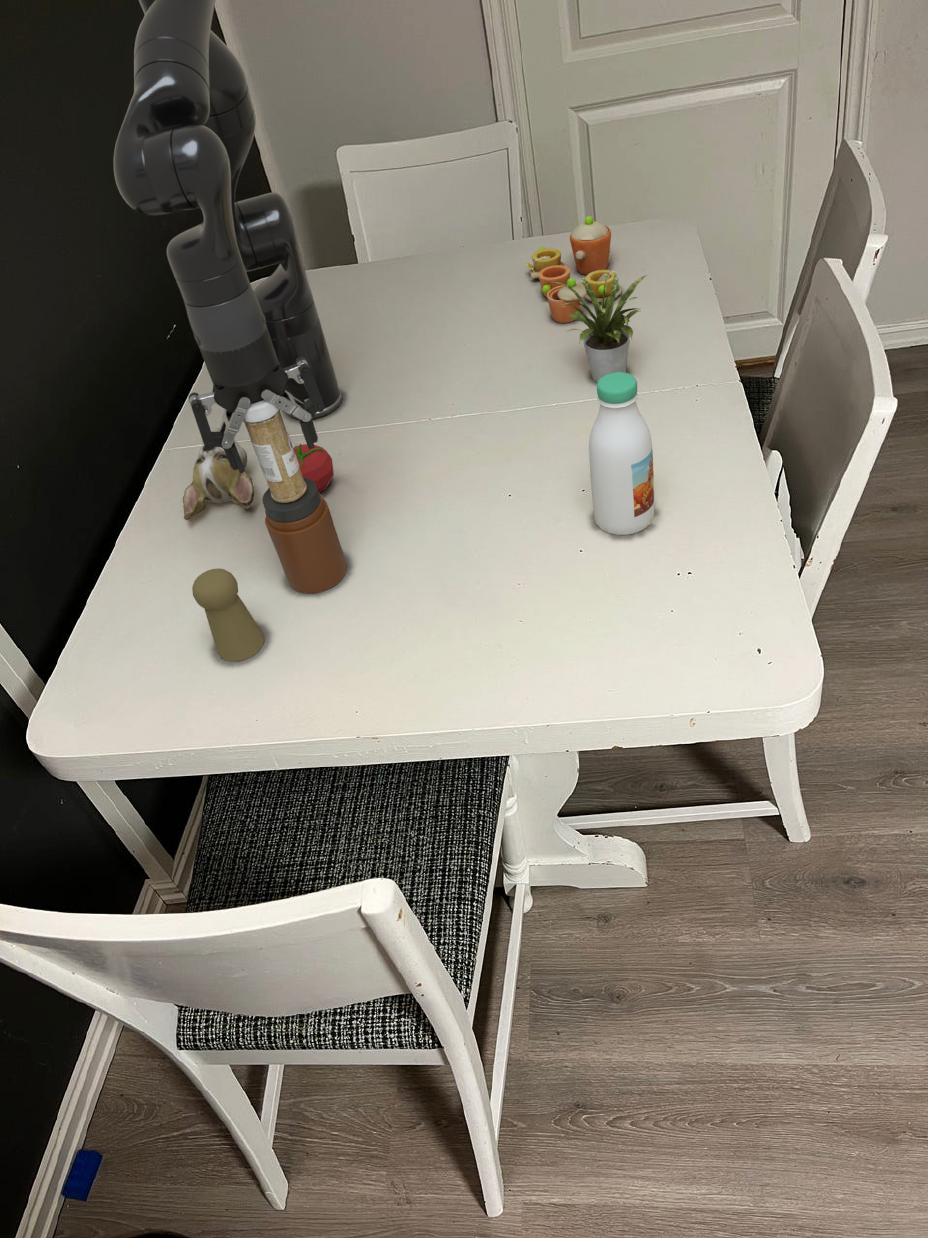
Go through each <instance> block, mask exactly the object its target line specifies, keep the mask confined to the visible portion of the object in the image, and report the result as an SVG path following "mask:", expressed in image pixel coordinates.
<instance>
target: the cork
mask: <svg viewBox="0 0 928 1238" xmlns="http://www.w3.org/2000/svg"><path fill="white" fill-rule="evenodd" d="M238 584H239V583H238V581H237V579H236V578H235V576H234V575H233V573H232V572H230V571H228V570H226V569H225V568H221V567H219V568H211V569H208V570H206V571H204V572H202V573H200V574H199V575H198V576H197V577H196V578H195V579H194V581H193V584H192V588H191V589H192V590H191V592H192V596H193V599H194V600H195V602H196V604H198V606H199V607H201V608H202V609H204V612H205V616H206V619H207V623H208V625H209V629H210V633H211V636H212V640H213V642H214V646H215V651H216V653H217V655H218V657H219V658H220V659H221V660H223V661H226V662H230V663H234V662H236V663H237V662H242V661H246V660H247V659H250V658H251V657H253V656H255V655H256V654H257V653H258V652H259V651H260V650H261V649H262V647H263V646H264V643H265V639H266V638H265V634H264V632H263V630H262V629H261V628H260V626H259V624H258V623H257V621H256V620H255V618H254V617H253V616H252V614H251V613H250V611H249V609H248V608H247V606H246V604H245V603H244V602H243V600H242V599H241V597H240V596H239V594H238V593H239V586H238Z"/></svg>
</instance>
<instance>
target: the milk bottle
mask: <svg viewBox="0 0 928 1238" xmlns="http://www.w3.org/2000/svg"><path fill="white" fill-rule="evenodd" d="M596 394H597V402H598V403H599V408H598V412H597V416H596V419H595V420H594V422H593V425H592V427H591V430H590V434H589V439H588V462H589V475H590V476H589V477H590V487H591V488H590V489H591V490H590V491H591V501H592V512H593V519H594V522H595V523H596V526H598V527H599V528H600V529H601V530H602V531H604V532H606V533H609V534H611V535H618V536H627V535H633V534H637V533H639V532H641V531H643V530H645V529H646V528H647V527H648V526H650V524H652V521H653V520H654V517H655V482H654V481H655V480H654V477H655V476H654V453H653V442H652V435H651V431H650V428H649V426H648V424H647V421H646V420H645V419H644V416H643V415H642V414H641V412H640V410H639V407H638V405H637V400H638V380H637V378H636V377H635V376H634V375H633V374H631V373H628V372H626V373H624V372H615V373H610V374H607V375H605V376H603V377H602V378H600V379H599V381H598V383H597V382H596Z"/></svg>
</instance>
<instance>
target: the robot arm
mask: <svg viewBox="0 0 928 1238" xmlns="http://www.w3.org/2000/svg"><path fill="white" fill-rule="evenodd" d="M138 2H139V5H140V7H141V9H142V12H143V14H144V16H143V18H142V20H141V22H140V24H139V27H138V29H137V33H136V35H135V41H134V48H133V49H134V50H133V83H134V84H133V95H132V97H131V99H130V102H129V104H128V108H127V111H126V113H125V115H124V119H123V121H122V124H121V127H120V129H119V132H118V135H117V138H116V141H115V145H114V146H115V147H114V152H113V175H114V181H115V184H116V187H117V190H118V192H119V194H120V196H121V197H122V199H123V200H124V201H125V202H124V203H126V204H127V206H128V207H130V208H131V209H132V210H133V211H135V212H136V213H138V214H140V215H143V216H146V217H157V216H164V215H169V214H175V213H180V212H186V211H192V210H197V209H199V210H201V212H202V213H201V214H202V217H203V221H202V222H201V223H198V224H197V225H195V226H193V227H190V228H188V229H186V230H184V231H182V232H181V233H179V234H177V235H175V236H174V237H173V238H172V239H171V240H170V241H169V242H168V244H167V247H166V257H167V262H168V264H169V267H170V269H171V273H172V275H173V277H174V279H175V283H176V285H177V287H178V290H179V293H180V295H181V297H182V300H183V304H184V306H185V310H186V315H187V319H188V322H189V326H190V329H191V330H192V334H193V339H194V341H195V342H196V344H197V347H198V349H199V352H200V354H201V357H202V359H203V362H204V364H205V367H206V369H207V372H208V374H209V377H210V379H211V382H212V391H210V392H206V393H202V394H199V393H198V392H190V393H189V395H188V401H189V404H190V407H191V410H192V413H193V417H194V420H195V422H196V426H197V428H198V432H199V434H200V437H201V440H202V444H203V443H204V446H205V448H207V449H213V448H214V447H221V448H223V449H224V451H225V453H226V456H227V458H228V461H229V463H230V466H231V468H232V469H233V470H237V469H239V472H240V473H243V472H244V473H246V467H245V468H244V465H243V463H242V460H241V458H240V455H239V453H238V450H237V447H236V445H235V442H234V440H236V439H235V438H236V436H237V434H238V433H239V432H240V430H241V426H242V424H243V423H244V422H243V419H244V416H245V413H246V412H247V410H248V408H249V405H250V404H254V403H257V402H260V401H262V400H266V401H267V402H269V403H271V404H273V405H275V406H277V407H278V408H279V409H280V410H282V411H283V412H285V413H287V415H288V416H289V417H290V418H291V419H296V420H298V423H299V425H300V428H301V431H302V435H303V438H304V441H305V444H307V445H308V448H309V449H312V448H315V446H314V445H315V443H318V440H319V437H318V433H317V430H316V427H315V424H314V421H313V420H314V419H318V418H322V417H324V416H326V415H328V414H330V413H333V412H334V411H336V409H337V408H338V407H339V406H340V405H341V404H342V402H343V395H342V392H341V389H340V387H339V383H338V380H337V376H336V372H335V369H334V365H333V361H332V359H331V355H330V351H329V348H328V344H327V341H326V338H325V333H324V331H323V327H322V323H321V320H320V316H319V314H318V309H317V307H316V303H315V299H314V295H313V293H312V290H311V286H310V283H309V280H308V275H307V272H306V269H305V265H304V261H303V257H302V253H301V248H300V244H299V239H298V234H297V231H296V230H297V229H296V226H295V222H294V219H293V216H292V212H291V210H290V209H291V208H290V207H289V205H288V203H287V201H286V200H285V198H284V197H283V195H281V193H279V192H275V191H274V192H268V193H267V192H266V193H264V194H260V195H258V196H253V197H249V198H246V199H242V200H238V201H236V192H237V191H236V190H237V185H238V181H239V177H240V175H241V173H242V172H241V171H242V170H243V168H244V166H245V163H246V160H247V158H248V155H249V153H250V150H251V148H252V144H253V141H254V138H255V133H256V127H257V126H256V125H257V119H256V112H255V107H254V103H253V101H252V96H251V91H250V88H249V84H248V81H247V76H246V74H245V71H244V68H243V67H242V65H241V62H240V60H239V59H238V58H237V57H236V55H235V54H234V52H233V51H232V50H231V49H230V48H229V47H228V46H227V44H225V42H223V41H222V39H221V38H220V37H219V36H218V35H217V34H215V32H214V31H213V30H212V29H211V28H212V22H213V16H214V13H215V5H216V0H138ZM277 264H278V266H277V267H276V268H275V270H274V271H273V272H272V273H271V274H270V275H269V276H268V277H267V278H266V279H265V280H263V281H262V282H261V283H260V284H258V285H257V286H256V287H255V288H254V289H253V286H252V284H251V281H250V278H249V276H248V272H253V271H256V270H260V269H264V268H267V267H270V266H275V265H277ZM214 404H216V405H218V406H219V407H220V408H222V409H224V412H223V414H222V422H221V424H220V426H219V429H220V430H219V432H212V429H211V427H210V423H209V421H208V417H207V416H208V415H210V414H211V413H212V411H213V409H212V408H213V407H212V406H213V405H214Z"/></svg>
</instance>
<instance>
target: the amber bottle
mask: <svg viewBox="0 0 928 1238" xmlns="http://www.w3.org/2000/svg"><path fill="white" fill-rule="evenodd" d="M303 479H304V481H305V482H306V485H307V490H306V493H305V494H304V495H303V496H302V497H301V498H299V499H298V500H295V501H293V502H289V503H280V502H276V501H275V500H273V499H272V497H271V491H270V488H269V487H268V488H267V490H266V491H265V492H264V493H263V495H262V498H261V499H262V502H261V503H262V505H263V508H264V515H265V518H264V523H265V524H264V525H265V527H266V530H267V532H268V534H269V537H270V540H271V542H272V544H273V547H274V549H275V553H276V555H277V558H278V560H279V562H280V565H281V567H282V571H283V573H284V575H285V578H286V580H287V583H288V586H289V587H290V588H292V590H294V591H295V592H298V593H300V594H308V595H309V594H312V595H313V594H318V593H322V592H325V591H327V590H328V591H329V590H330V589H332V588H334V587H335V586H337V585H338V584H339V583H340V582H341V581H342V580H343V579H344V577H345V576H346V574H347V573H348V572H347V571H348V563H347V560H346V557H345V554H344V550H343V548H342V544H341V542H340V539H339V536H338V532H337V529H336V527H335V522H334V520H333V517H332V514H331V510H330V508H329V505H328V502H327V501H326V499H324V497H322V494H321V492H320V493H319V492H318V490H317V487H316V484H315V483H314V482H313V481H312V480H310V479H308V478H304V477H303Z"/></svg>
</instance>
